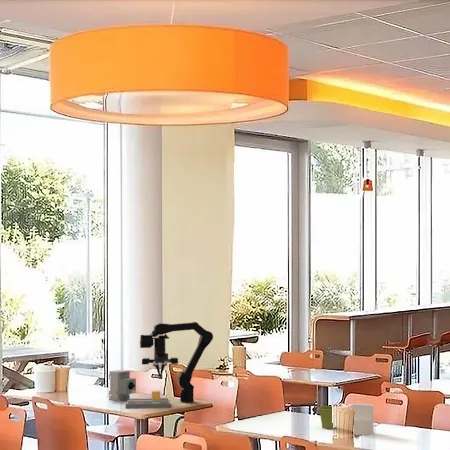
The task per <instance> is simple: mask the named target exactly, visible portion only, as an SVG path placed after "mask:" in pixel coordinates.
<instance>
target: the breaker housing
mask: <svg viewBox="0 0 450 450" xmlns="http://www.w3.org/2000/svg"><path fill="white" fill-rule="evenodd" d="M170 407H171V399H169V397H160V400H152V397H143V398H142V397H140V398H137V397H135V398H134V397H133V398H131V397H130V399H127V400H126V402H125V409H155V408H156V409H157V408H158V409H161V408H163V409H164V408H170Z"/></svg>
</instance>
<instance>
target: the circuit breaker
mask: <svg viewBox="0 0 450 450" xmlns="http://www.w3.org/2000/svg"><path fill="white" fill-rule="evenodd" d="M130 375H131V372H130V370H126V369H125V370H122V369H117V370H109V374H108V380H109V390H108V397H109V398H108V400H110V399H111V400H110V401H118V400H121V401H126V400H125V399H127V400H129V399H130V398H131V395H130V394H135V393H137V383H136V382H137V379H136V378H134V377H131V376H130Z"/></svg>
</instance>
